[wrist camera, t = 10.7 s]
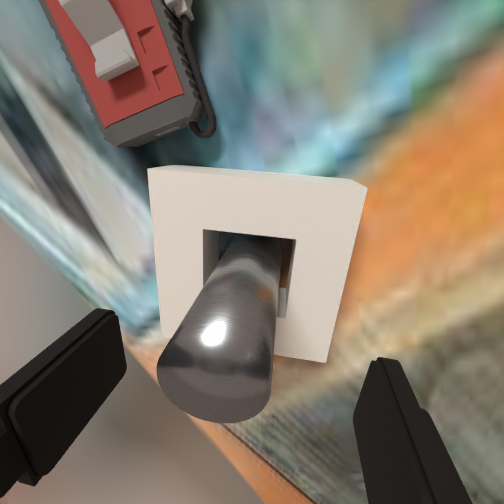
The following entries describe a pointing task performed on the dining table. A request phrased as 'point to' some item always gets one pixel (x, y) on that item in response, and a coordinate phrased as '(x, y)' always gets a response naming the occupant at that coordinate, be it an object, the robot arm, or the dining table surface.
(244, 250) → the peg
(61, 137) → the dining table surface
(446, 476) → the robot arm
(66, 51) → the walkie-talkie
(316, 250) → the socket block
